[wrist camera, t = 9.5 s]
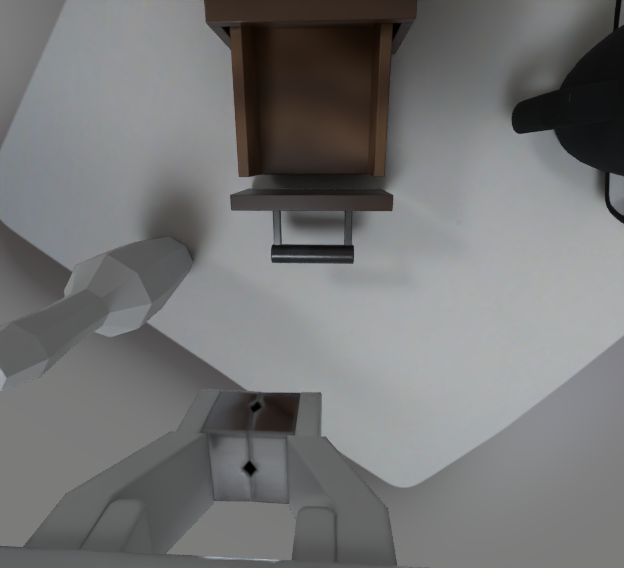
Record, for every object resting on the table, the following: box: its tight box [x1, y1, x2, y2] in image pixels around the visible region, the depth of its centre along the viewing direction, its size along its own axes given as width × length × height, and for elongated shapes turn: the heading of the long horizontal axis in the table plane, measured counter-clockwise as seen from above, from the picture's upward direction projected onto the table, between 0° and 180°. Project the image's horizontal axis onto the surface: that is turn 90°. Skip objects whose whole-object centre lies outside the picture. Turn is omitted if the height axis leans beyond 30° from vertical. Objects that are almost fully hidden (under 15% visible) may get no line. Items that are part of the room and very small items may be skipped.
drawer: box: [230, 23, 393, 264], centre depth 31 cm, size 19×12×7 cm, turn 0°
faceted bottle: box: [0, 236, 193, 391], centre depth 28 cm, size 6×6×22 cm
